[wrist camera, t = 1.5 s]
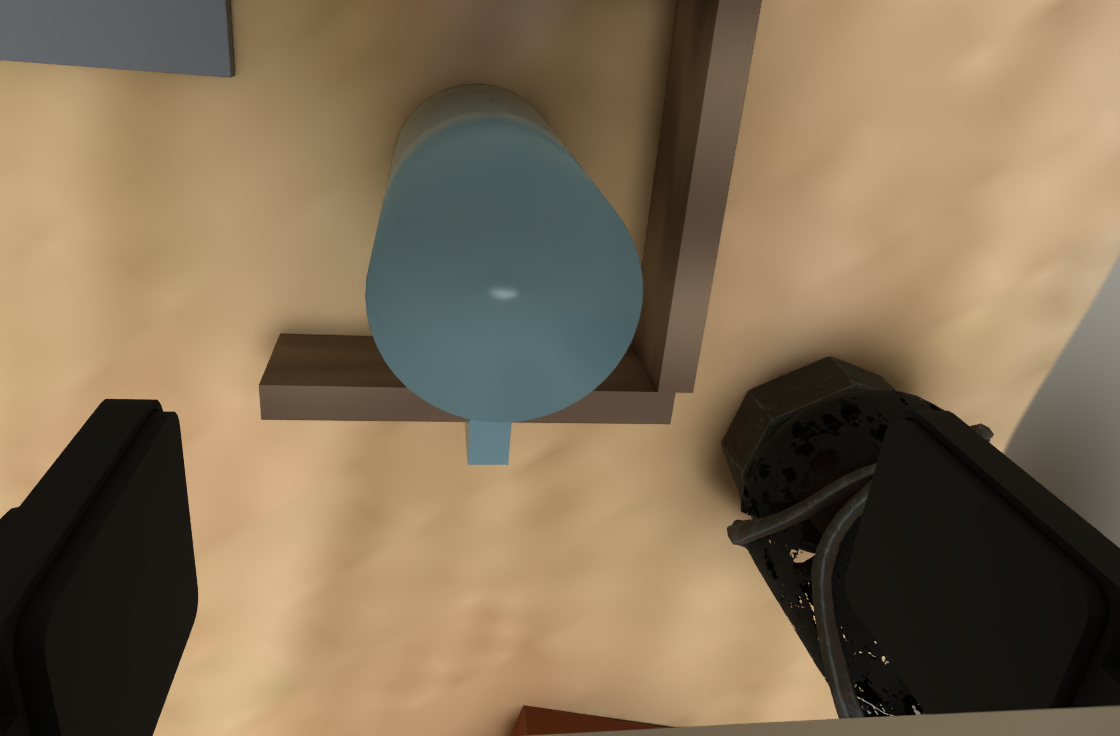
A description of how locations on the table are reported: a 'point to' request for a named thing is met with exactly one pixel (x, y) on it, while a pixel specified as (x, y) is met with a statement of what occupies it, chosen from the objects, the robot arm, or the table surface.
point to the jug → (497, 267)
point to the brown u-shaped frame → (667, 271)
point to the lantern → (819, 513)
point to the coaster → (121, 34)
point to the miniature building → (567, 723)
